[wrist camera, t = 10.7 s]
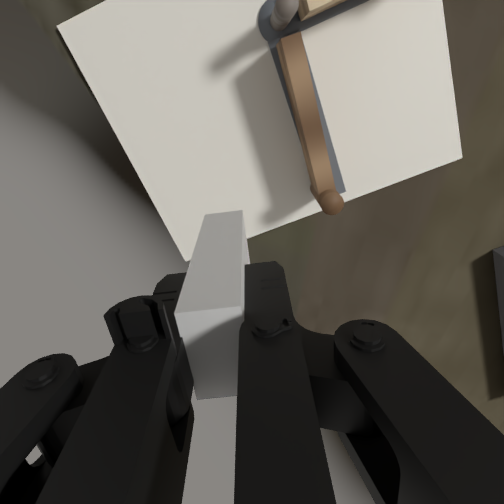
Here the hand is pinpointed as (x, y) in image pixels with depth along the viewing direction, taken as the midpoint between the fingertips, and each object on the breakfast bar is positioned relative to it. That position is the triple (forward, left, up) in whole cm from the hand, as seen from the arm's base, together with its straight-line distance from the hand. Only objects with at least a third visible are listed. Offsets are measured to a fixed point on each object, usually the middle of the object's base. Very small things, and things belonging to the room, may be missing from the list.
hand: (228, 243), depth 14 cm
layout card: (-3, +5, -19) cm, 20 cm away
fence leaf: (0, +6, -18) cm, 20 cm away
